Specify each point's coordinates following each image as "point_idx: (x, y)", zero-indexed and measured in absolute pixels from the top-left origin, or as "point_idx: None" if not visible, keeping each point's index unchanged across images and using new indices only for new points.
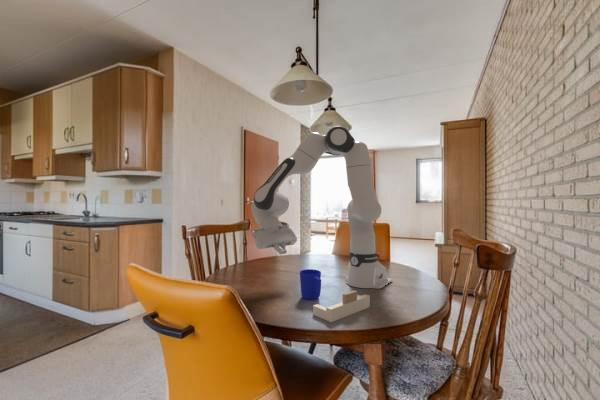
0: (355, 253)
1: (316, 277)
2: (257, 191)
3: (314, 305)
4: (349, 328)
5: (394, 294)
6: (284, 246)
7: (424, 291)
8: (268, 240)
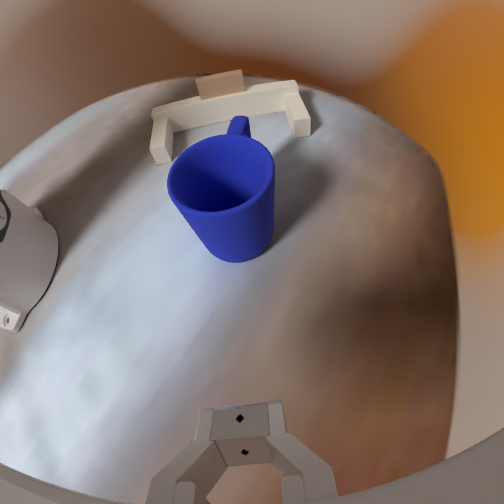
0: None
1: (238, 126)
2: None
3: (306, 117)
4: None
5: (57, 171)
6: (188, 463)
7: (19, 169)
8: (483, 490)
